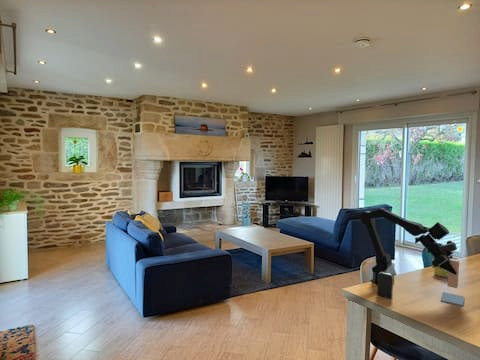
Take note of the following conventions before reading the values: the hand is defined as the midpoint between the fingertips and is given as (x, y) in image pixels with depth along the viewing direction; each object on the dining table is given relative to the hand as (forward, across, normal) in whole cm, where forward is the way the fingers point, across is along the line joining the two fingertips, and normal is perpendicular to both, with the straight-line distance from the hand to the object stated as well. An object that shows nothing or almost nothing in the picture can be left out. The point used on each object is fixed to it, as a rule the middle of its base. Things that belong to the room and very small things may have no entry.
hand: (456, 273), depth 154 cm
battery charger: (-9, -17, +28) cm, 34 cm away
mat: (+8, +2, +11) cm, 14 cm away
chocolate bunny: (+1, +37, +18) cm, 41 cm away
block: (+4, 0, +6) cm, 7 cm away
